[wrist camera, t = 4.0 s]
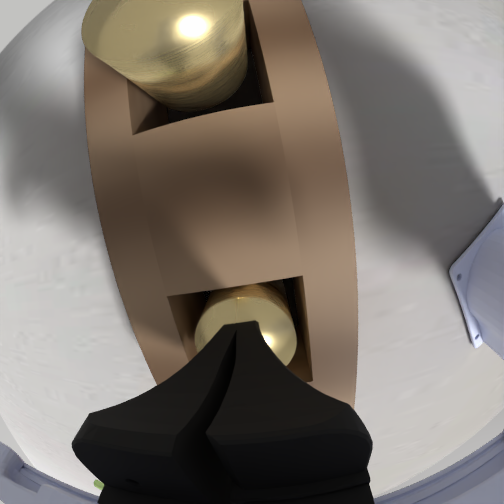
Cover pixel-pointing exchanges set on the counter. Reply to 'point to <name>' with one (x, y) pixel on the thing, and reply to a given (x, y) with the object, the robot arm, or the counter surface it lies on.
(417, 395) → the counter surface
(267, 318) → the peg
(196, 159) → the block
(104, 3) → the peg
